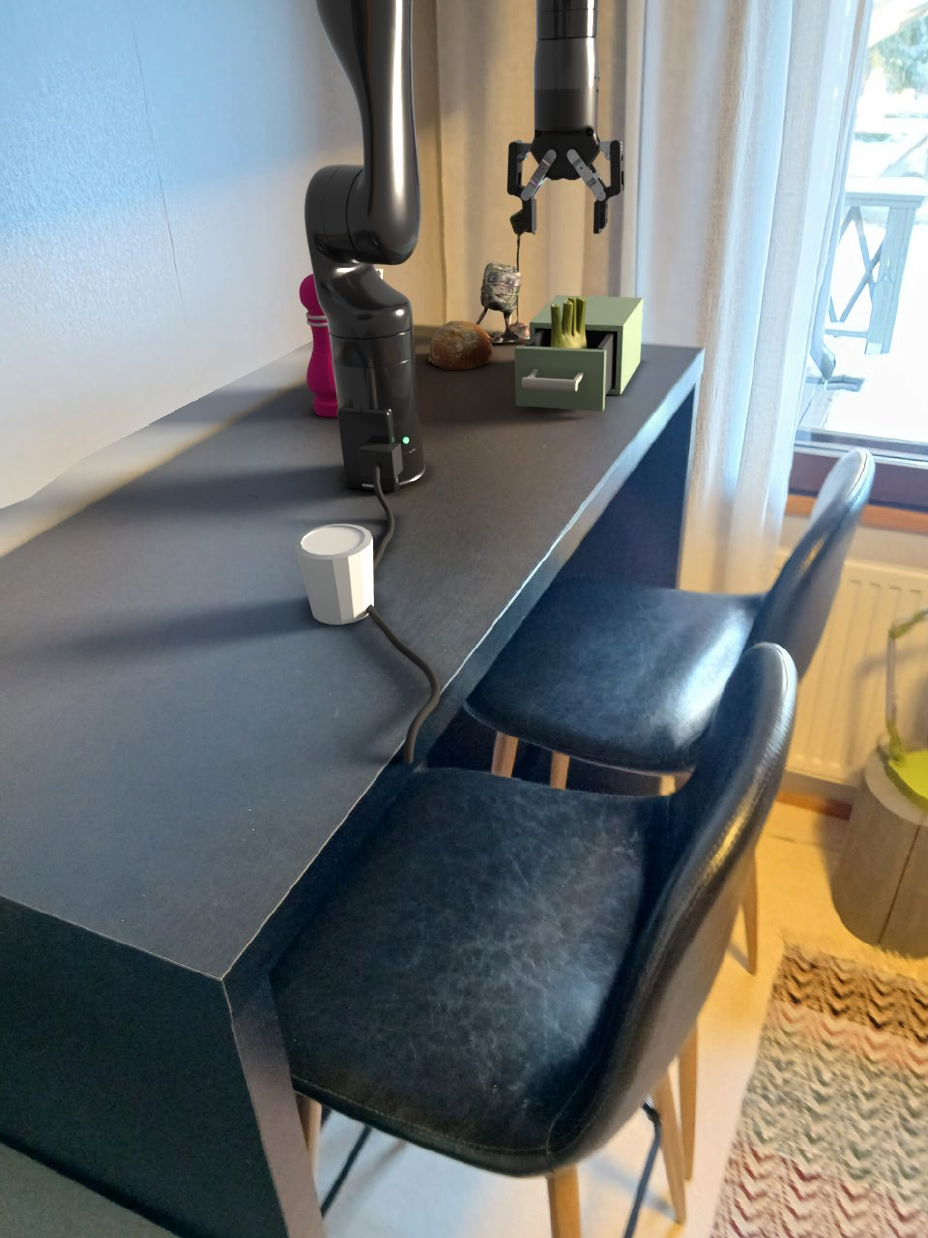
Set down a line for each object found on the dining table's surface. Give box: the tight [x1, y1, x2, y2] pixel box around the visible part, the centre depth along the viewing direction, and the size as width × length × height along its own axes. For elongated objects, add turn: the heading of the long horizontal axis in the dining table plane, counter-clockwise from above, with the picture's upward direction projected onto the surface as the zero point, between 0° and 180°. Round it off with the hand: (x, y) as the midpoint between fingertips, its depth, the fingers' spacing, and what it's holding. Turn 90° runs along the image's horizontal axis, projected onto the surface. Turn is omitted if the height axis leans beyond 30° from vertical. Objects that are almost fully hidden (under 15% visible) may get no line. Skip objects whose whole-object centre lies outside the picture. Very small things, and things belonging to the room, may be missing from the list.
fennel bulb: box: [551, 297, 587, 349], centre depth 125 cm, size 6×5×12 cm
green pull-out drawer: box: [514, 328, 618, 412], centre depth 126 cm, size 20×12×8 cm, turn 161°
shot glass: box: [293, 523, 375, 626], centre depth 83 cm, size 7×7×7 cm
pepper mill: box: [298, 273, 338, 418], centre depth 126 cm, size 7×7×20 cm
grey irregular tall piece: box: [475, 208, 536, 344], centre depth 152 cm, size 8×11×20 cm
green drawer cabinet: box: [528, 294, 644, 396], centre depth 136 cm, size 16×13×10 cm
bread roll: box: [428, 320, 494, 371], centre depth 147 cm, size 10×10×8 cm
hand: (564, 232), depth 117 cm, fingers open, 8 cm apart
